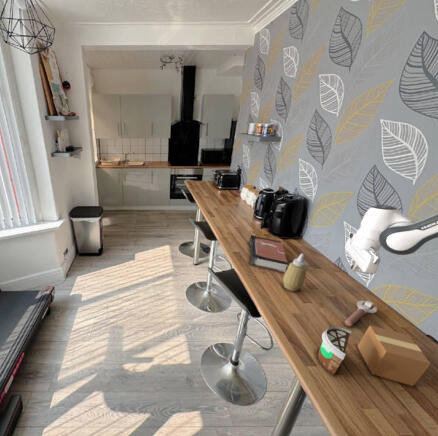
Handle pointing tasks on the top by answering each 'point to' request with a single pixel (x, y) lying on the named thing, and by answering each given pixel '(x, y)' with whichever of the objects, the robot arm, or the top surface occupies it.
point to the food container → (333, 347)
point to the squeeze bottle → (295, 274)
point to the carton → (392, 355)
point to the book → (267, 254)
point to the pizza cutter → (360, 312)
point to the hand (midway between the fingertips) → (353, 269)
